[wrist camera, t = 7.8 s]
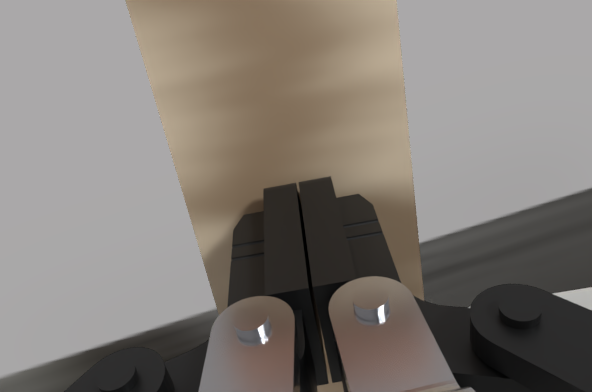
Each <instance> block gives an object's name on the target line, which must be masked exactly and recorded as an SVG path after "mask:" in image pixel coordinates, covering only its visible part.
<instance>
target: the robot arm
mask: <svg viewBox="0 0 592 392" xmlns="http://www.w3.org/2000/svg"><path fill="white" fill-rule="evenodd" d="M299 189H300V197H301V204H302V209H301V204H300V199H299V194H298V190H297V185H296V183H291V184H286V185H280V186H275V187H269V188H264V189H263V201H264V211H261V212H256V213H250V214H245V215H243V216H242V218H241V219H240V221H239V222H238V224H237V225H236V227H235V228H234V230H233V240H232V247H233V248H232V253H231V260H232V261H231V266H230V279H229V292H228V305H227V308H226V309H225V310H224V311H223V312H222V313H221V314H220V315H219V316H218V317H217V319H216V320H215V322H214V324H213V326H212V329H211V334H210V338H209V340H207V341H206V342H205V343H203V344H202V345H200V346H198V347H197V348H195V349H193V350H191V351H188V352H186V353H184V354H181V355H179V356H177V357H175V358H172V359H170V360H168V361H165V362H164V361H163V359H162V357H161V356H160V355H159V354H158V353H157V352H155V351H154V350H151V349H149V348H144V347H133V348H127V349H123V350H120V351H117V352H115V353H112V354H110V355H108V356H106V357H105V358H103V359H102V360H100V361H99V362H97V363H96V364H95V365H94V366H93V367H91V368H90V369H89V370H88V371H87V372H86V373H85V374H83V375H82V376H81V377H80V378H79V379H78V380H77V381H76V382H74V383H73V384H72V385H71V386H70V387H69V388H68V389H67V390H65V391H64V392H318V391H317V386H319V385H325V384H329V381H328V374H327V367H326V360H325V353H324V346H323V340H324V344H325V349H326V354H327V359H328V364H329V369H330V374H331V379H332V383H335V382H341V381H342V384H343V390H344V392H592V310H590V309H587V308H585V307H582V306H580V305H578V304H575V303H573V302H571V301H568V300H566V299H563V298H561V297H559V296H556V295H554V294H551V293H549V292H547V291H544V290H542V289H539V288H536V287H532V286H528V285H521V284H504V285H498V286H494V287H491V288H488V289H486V290H485V291H483V292H481V293H480V294H479V295H477V297H476V298H475V299H474V300H473V302H472V304H471V308H467V307H453V306H442V305H436V304H432V303H429V302H426V301H423V300H421V299H419V298H417V297H415V296H414V295H412V293H411V291H410V290H409V289H408V288H407V287H406V286H405V285H403V284H402V283H401V281H400V278H399V275H398V273H397V270H396V267H395V264H394V262H393V259H392V256H391V253H390V251H389V248H388V245H387V242H386V240H385V237H384V234H383V232H382V229H381V226H380V223H379V221H378V217H377V215H376V212H375V209H374V206H373V204H371V203H370V202H369V201H368V200H366V199H365V198H364V197H362V196H361V195H360V194H354V195H349V196H343V197H338V198H336V195H335V191H334V187H333V183H332V179H331V176H329V177H323V178H318V179H312V180H307V181H301V182H299ZM302 212H303V214H302ZM321 330H322V332H321ZM322 335H323V339H322Z"/></svg>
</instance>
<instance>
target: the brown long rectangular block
mask: <svg viewBox="0 0 592 392" xmlns="http://www.w3.org/2000/svg"><path fill="white" fill-rule="evenodd" d="M126 4H127V7H128V10H129V14H130V17H131V20H132V24H133V27H134V30H135V33H136V37H137V41H138V44H139V47H140V50H141V54H142V57H143V61H144V64H145V68H146V71H147V74H148V78H149V81H150V84H151V88H152V91H153V94H154V98H155V101H156V104H157V108H158V111H159V115H160V118H161V121H162V125H163V128H164V131H165V135H166V138H167V141H168V145H169V148H170V152H171V155H172V158H173V162H174V165H175V168H176V172H177V175H178V178H179V182H180V185H181V188H182V192H183V195H184V198H185V202H186V205H187V208H188V212H189V215H190V219H191V222H192V225H193V229H194V232H195V235H196V239H197V242H198V245H199V249H200V252H201V255H202V259H203V262H204V266H205V269H206V273H207V276H208V279H209V282H210V286H211V289H212V293H213V296H214V299H215V303H216V306H217V310H218V313H219V315H220V314H221V313H222V312H223V311H224V310H225V309H226V308H227V305H228V292H229V279H230V266H231V261H232V260H231V253H232V248H233V247H232V240H233V230H234V228H235V227H236V225H237V224H238V222H239V221H240V219H241V218H242V216H243V215H245V214H250V213H256V212H261V211H264V201H263V189H264V188H269V187H275V186H280V185H286V184H291V183H296V185H297V190H298V194H299V199H300V204H301V197H300V189H299V182H301V181H307V180H312V179H318V178H323V177H329V176H331V179H332V183H333V187H334V191H335V195H336V198H338V197H343V196H349V195H354V194H360V195H361V196H362V197H364V198H365V199H366V200H368V201H369V202H370V203H371V204H373V206H374V209H375V212H376V215H377V217H378V221H379V223H380V226H381V229H382V232H383V234H384V237H385V240H386V242H387V245H388V248H389V251H390V253H391V256H392V259H393V262H394V264H395V267H396V270H397V273H398V275H399V278H400V281H401V283H402V284H403V285H405V286H406V287H407V288H408V289H409V290H410V291H411V293H412V295H414V296H415V297H417V298H419V299H421V300H423V301H424V292H423V281H422V271H421V260H420V249H419V239H418V228H417V216H416V206H415V196H414V185H413V173H412V164H411V163H412V162H411V152H410V141H409V131H408V120H407V108H406V97H405V87H404V76H403V66H402V54H401V44H400V33H399V23H398V11H397V1H396V0H126ZM301 209H302V204H301ZM302 214H303V212H302ZM321 332H322V330H321ZM322 339H323V335H322ZM323 346H324V353H325V360H326V367H327V374H328V381H329V384H325V385H319V386H317V391H318V392H344V390H343V384H342V381H341V382H335V383H332V379H331V374H330V369H329V364H328V359H327V354H326V349H325V344H324V340H323Z"/></svg>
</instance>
